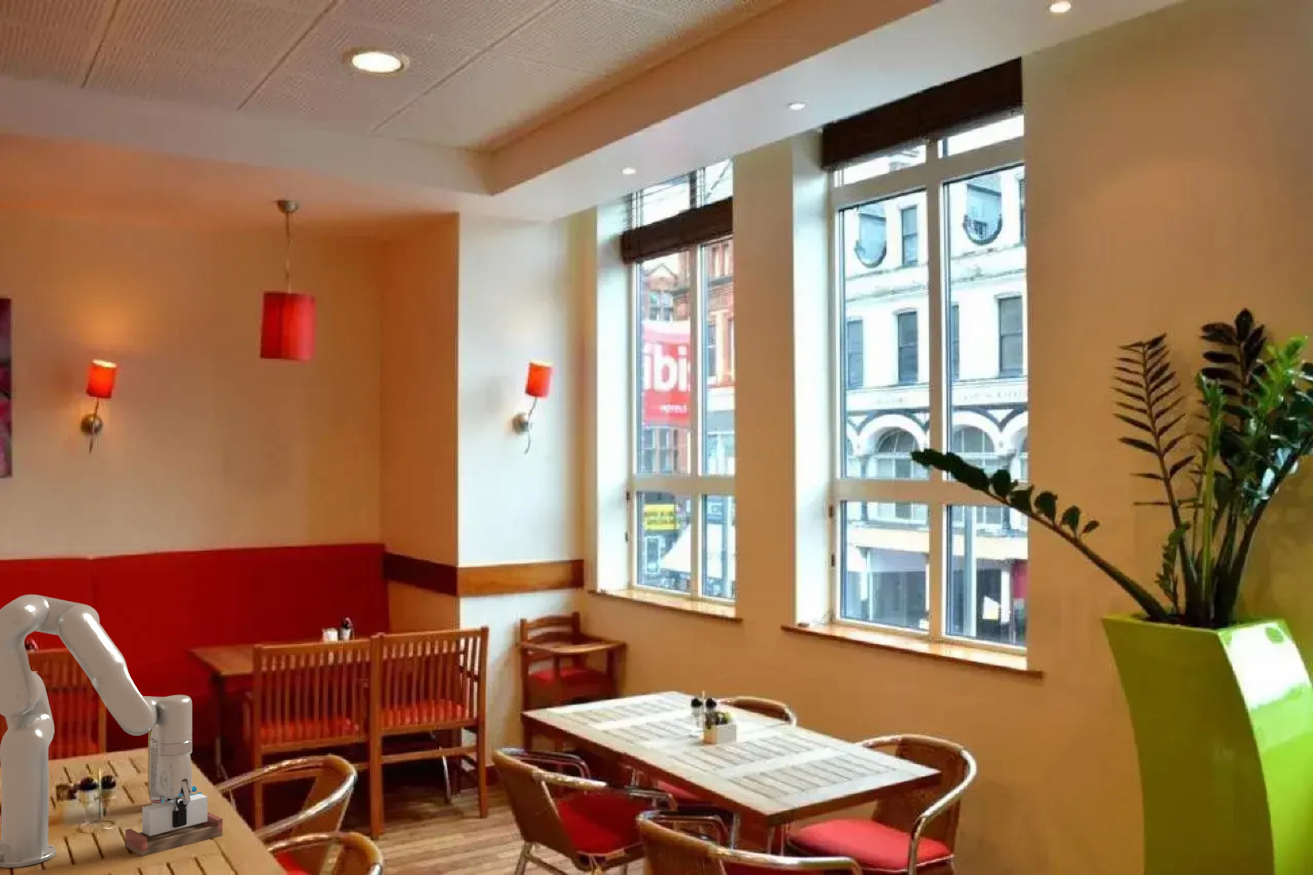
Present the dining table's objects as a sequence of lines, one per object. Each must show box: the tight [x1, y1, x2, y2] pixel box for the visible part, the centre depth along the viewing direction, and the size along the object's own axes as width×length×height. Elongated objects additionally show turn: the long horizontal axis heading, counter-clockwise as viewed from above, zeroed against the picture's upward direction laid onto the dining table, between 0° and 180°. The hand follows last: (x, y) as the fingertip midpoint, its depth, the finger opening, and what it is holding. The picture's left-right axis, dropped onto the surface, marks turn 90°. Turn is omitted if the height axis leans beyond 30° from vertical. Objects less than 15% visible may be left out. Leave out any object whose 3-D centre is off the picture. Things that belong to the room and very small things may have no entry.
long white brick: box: [141, 793, 208, 836], centre depth 267 cm, size 14×4×6 cm, turn 138°
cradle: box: [124, 811, 224, 857], centre depth 267 cm, size 19×9×4 cm, turn 138°
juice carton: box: [147, 725, 163, 805], centre depth 295 cm, size 9×8×24 cm
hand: (175, 823), depth 267 cm, fingers closed on long white brick, 4 cm apart
